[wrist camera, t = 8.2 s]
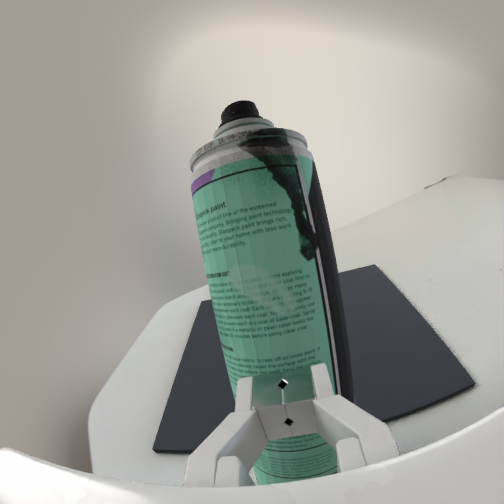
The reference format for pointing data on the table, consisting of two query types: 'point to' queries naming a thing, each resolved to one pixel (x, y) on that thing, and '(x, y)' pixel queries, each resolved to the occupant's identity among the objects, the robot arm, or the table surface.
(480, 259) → the table surface
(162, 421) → the mat
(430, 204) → the table surface
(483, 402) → the table surface
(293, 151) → the spray can
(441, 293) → the table surface
